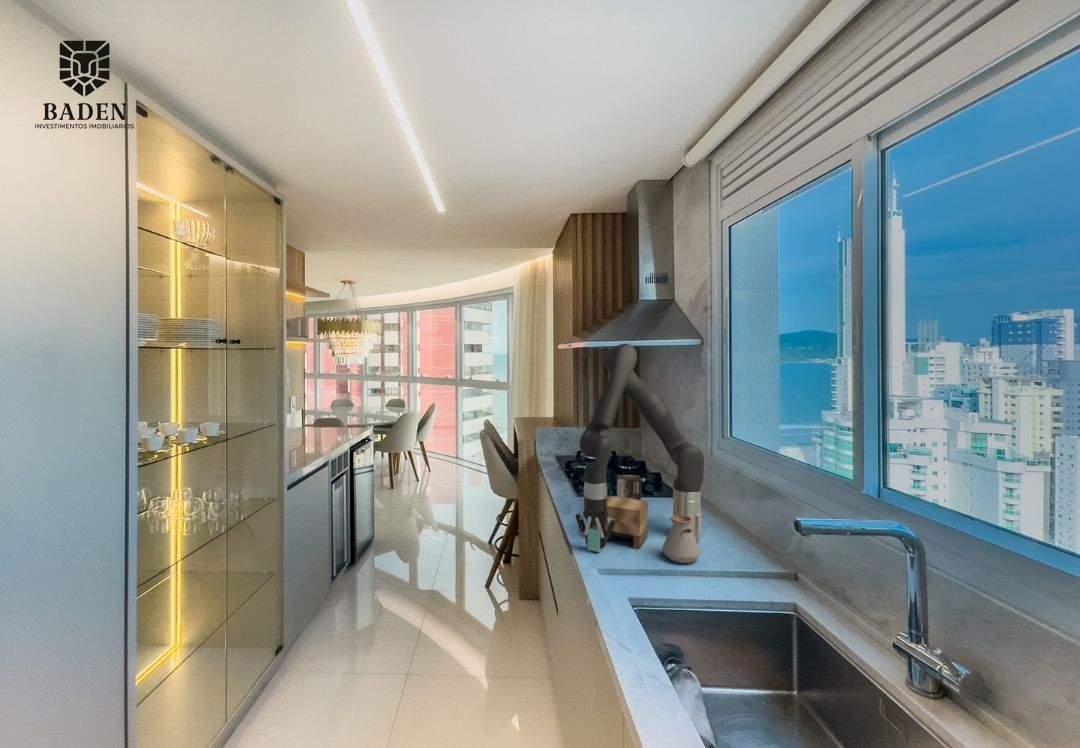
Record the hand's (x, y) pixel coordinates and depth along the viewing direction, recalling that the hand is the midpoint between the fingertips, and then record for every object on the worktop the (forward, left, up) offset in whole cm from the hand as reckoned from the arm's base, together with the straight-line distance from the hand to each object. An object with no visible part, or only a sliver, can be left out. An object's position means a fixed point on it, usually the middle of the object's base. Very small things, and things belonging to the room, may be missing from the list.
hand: (595, 546), depth 149 cm
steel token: (+6, -11, -2) cm, 13 cm away
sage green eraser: (0, -6, -1) cm, 6 cm away
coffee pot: (-28, -2, -2) cm, 28 cm away
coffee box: (-1, -36, -2) cm, 37 cm away
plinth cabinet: (-6, -13, -1) cm, 14 cm away
